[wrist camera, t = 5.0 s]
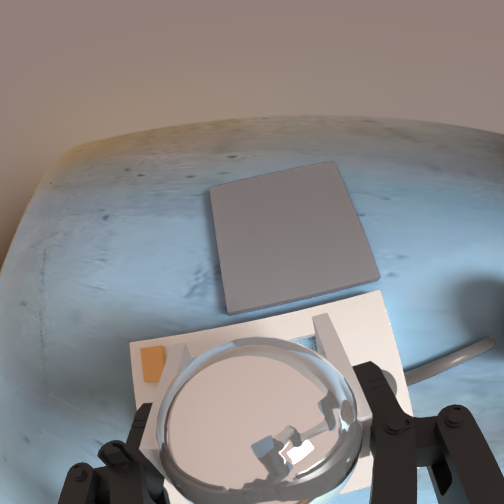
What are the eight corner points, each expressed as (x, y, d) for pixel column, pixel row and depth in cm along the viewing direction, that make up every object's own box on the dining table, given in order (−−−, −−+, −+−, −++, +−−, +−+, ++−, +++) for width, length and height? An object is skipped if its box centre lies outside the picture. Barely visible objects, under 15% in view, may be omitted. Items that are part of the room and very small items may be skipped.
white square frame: (465, 266, 21) (475, 257, 19) (505, 415, 15) (518, 415, 13) (136, 345, 22) (125, 340, 20) (164, 506, 16) (153, 513, 14)
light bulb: (229, 352, 19) (141, 293, 8) (340, 367, 17) (407, 327, 7) (209, 456, 16) (100, 517, 5) (321, 473, 15) (355, 574, 4)
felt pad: (333, 166, 26) (333, 160, 26) (377, 280, 21) (380, 276, 21) (211, 192, 27) (209, 187, 26) (229, 315, 22) (227, 312, 21)
